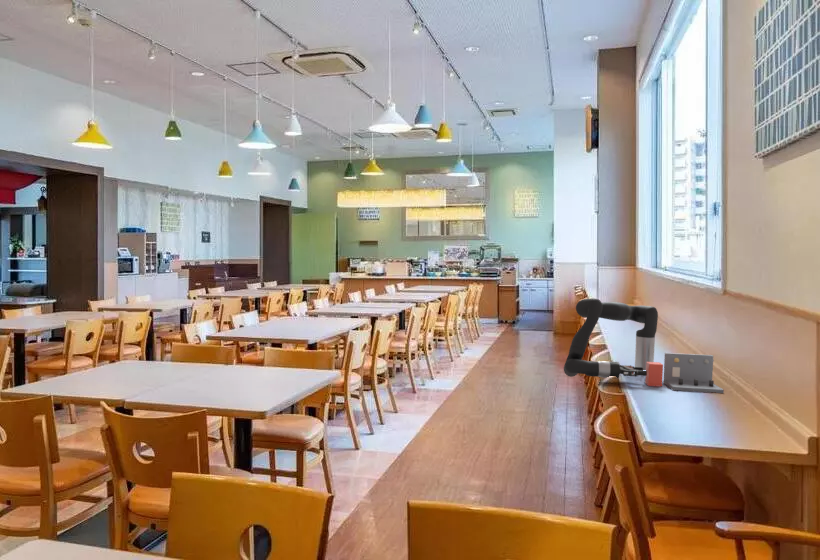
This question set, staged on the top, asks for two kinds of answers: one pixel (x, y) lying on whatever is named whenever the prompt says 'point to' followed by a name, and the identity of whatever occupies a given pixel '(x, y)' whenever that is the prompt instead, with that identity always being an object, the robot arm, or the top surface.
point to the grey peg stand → (689, 372)
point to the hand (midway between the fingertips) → (644, 371)
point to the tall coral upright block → (654, 373)
